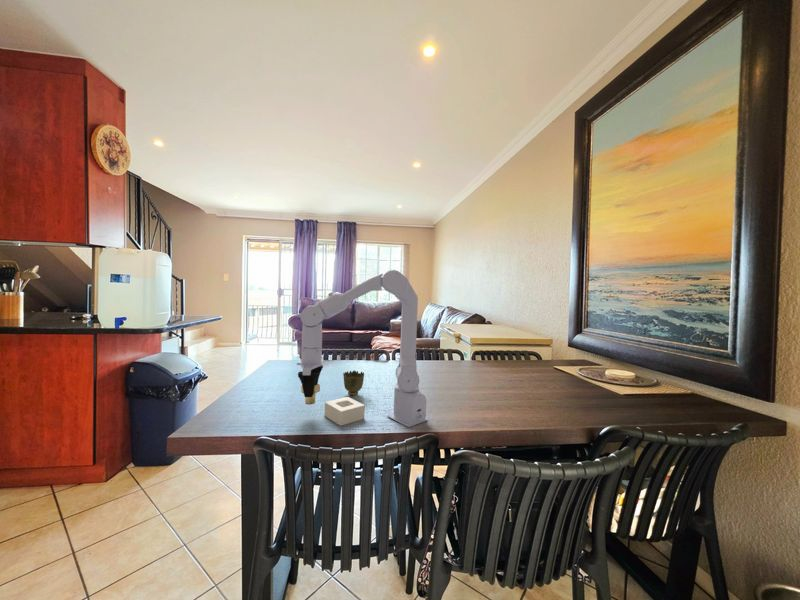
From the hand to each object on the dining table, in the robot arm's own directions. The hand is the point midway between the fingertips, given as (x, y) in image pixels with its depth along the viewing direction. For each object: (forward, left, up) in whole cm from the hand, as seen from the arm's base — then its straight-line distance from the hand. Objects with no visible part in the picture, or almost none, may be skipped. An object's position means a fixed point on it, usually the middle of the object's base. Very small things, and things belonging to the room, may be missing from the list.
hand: (310, 393), depth 91 cm
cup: (+9, -21, -7) cm, 24 cm away
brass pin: (0, 0, -3) cm, 3 cm away
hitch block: (-6, -8, -7) cm, 12 cm away
